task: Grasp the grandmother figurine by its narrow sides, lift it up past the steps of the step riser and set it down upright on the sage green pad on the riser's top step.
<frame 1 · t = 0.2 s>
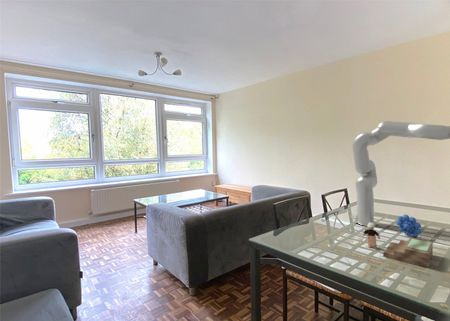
grapes: (408, 236, 133), on the table
step riser: (407, 255, 110), on the table
grandmother figurine: (371, 247, 121), on the table
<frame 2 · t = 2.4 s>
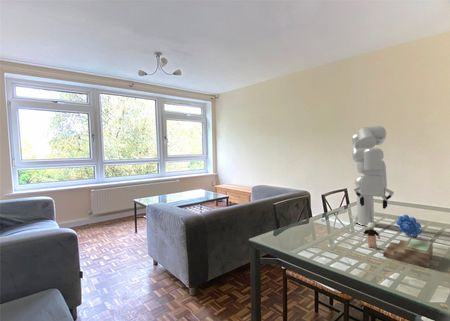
hand: (373, 206, 120), 21 cm above the table, tool pointing down, fingers open, 9 cm apart
nothing on the table moved.
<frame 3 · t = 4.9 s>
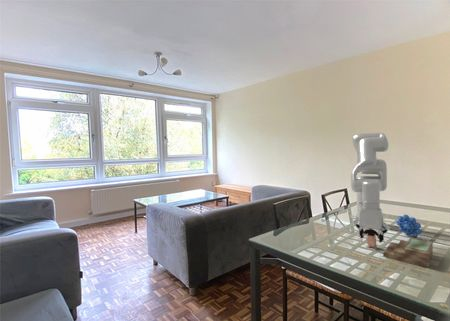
hand: (371, 239, 121), 4 cm above the table, tool pointing down, fingers closed on grandmother figurine, 7 cm apart
grandmother figurine: (371, 247, 121), on the table, touching gripper
everything else where it was.
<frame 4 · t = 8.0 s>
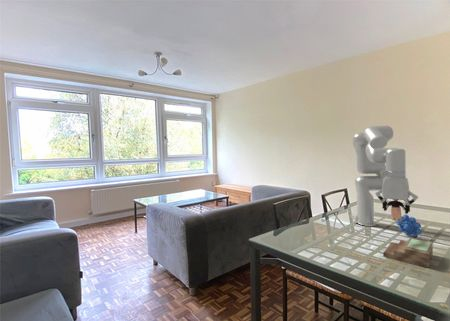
hand: (395, 211, 113), 20 cm above the table, tool pointing down, fingers closed on grandmother figurine, 7 cm apart
grandmother figurine: (395, 220, 113), point 16 cm above the table, touching gripper
everything else where it was.
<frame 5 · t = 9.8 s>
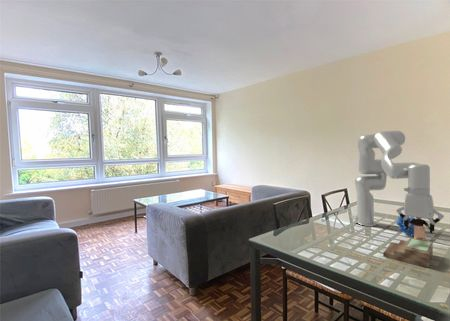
hand: (418, 230, 107), 13 cm above the table, tool pointing down, fingers closed on grandmother figurine, 7 cm apart
grandmother figurine: (418, 239, 107), point 9 cm above the table, touching gripper
everything else where it was.
when the fingers open (11 cm above the table, at t = 11.2 s): grandmother figurine stays where it is, resting on step riser.
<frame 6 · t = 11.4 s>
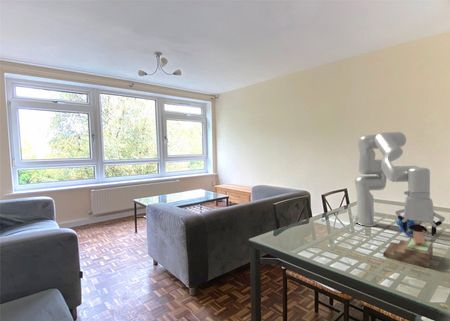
hand: (418, 232, 107), 12 cm above the table, tool pointing down, fingers open, 9 cm apart
grandmother figurine: (417, 244, 108), point 6 cm above the table, touching step riser
everything else where it was.
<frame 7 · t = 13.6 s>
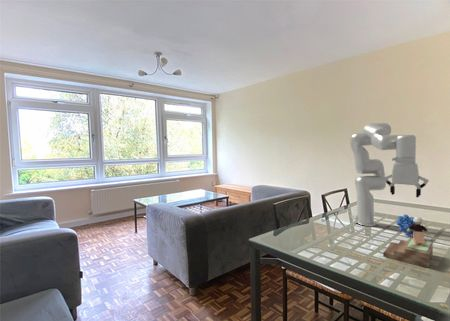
hand: (404, 195, 116), 27 cm above the table, tool pointing down, fingers open, 9 cm apart
nothing on the table moved.
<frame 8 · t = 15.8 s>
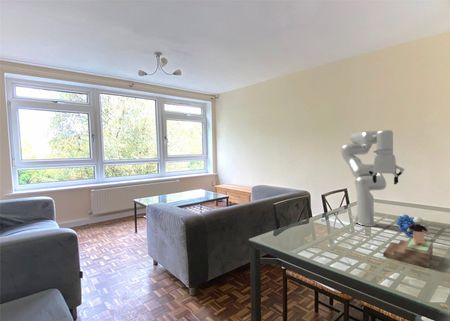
hand: (385, 183, 132), 30 cm above the table, tool pointing down, fingers open, 9 cm apart
nothing on the table moved.
at the end: grandmother figurine inside the target area on the step riser (0.7 cm from its centre), point 6.1 cm above the step riser's base; grandmother figurine tilted 0°; the gripper is holding nothing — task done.
